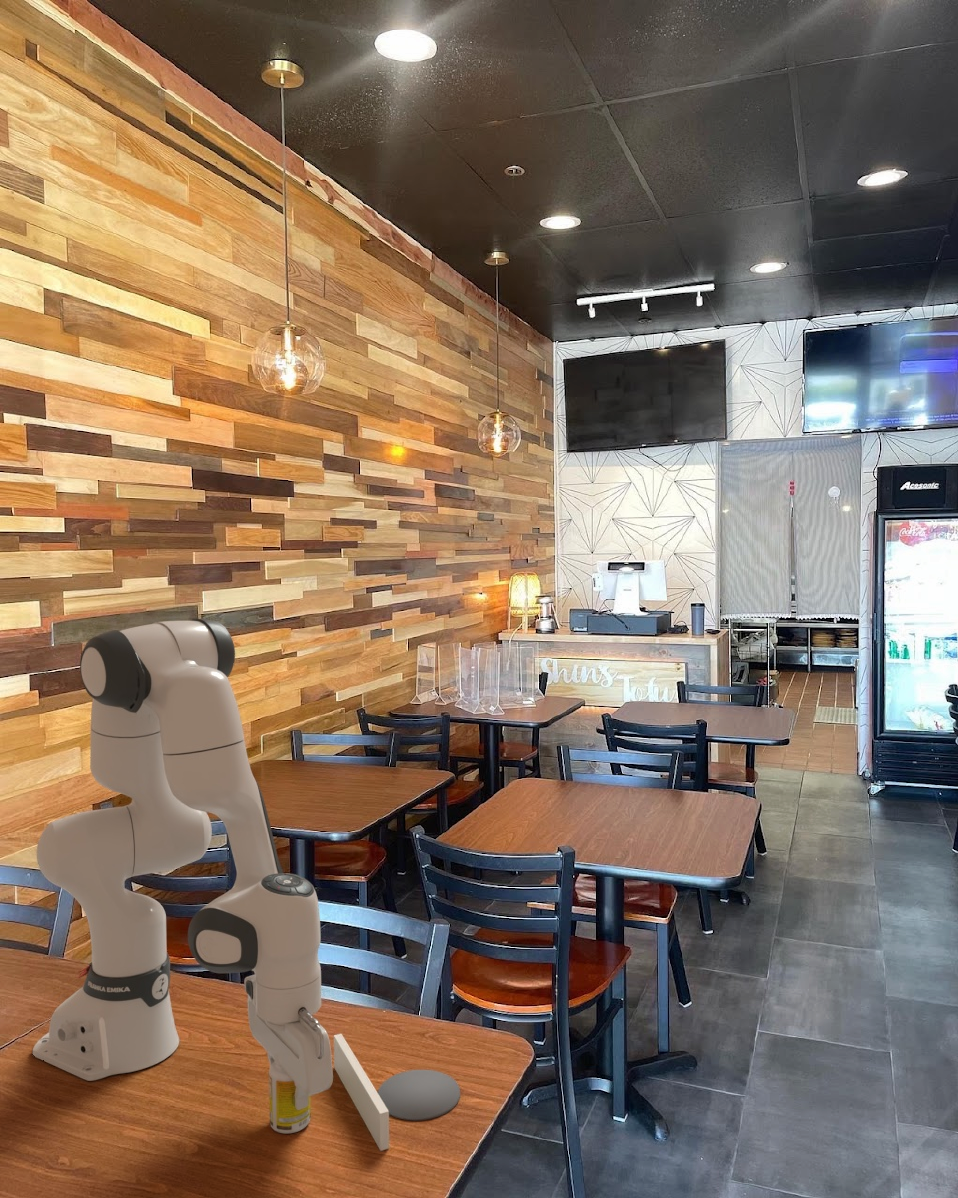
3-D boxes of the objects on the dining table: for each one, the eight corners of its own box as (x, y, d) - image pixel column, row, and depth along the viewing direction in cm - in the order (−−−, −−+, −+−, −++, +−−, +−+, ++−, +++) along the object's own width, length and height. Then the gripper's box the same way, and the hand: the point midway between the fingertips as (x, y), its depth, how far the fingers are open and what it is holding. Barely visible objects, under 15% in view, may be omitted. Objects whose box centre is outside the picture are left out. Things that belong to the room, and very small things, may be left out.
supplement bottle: (319, 1122, 126) (318, 1050, 125) (285, 1141, 122) (284, 1066, 121) (295, 1106, 130) (294, 1035, 129) (261, 1124, 126) (260, 1051, 125)
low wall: (389, 1148, 120) (388, 1111, 120) (380, 1151, 120) (380, 1113, 119) (341, 1065, 140) (341, 1033, 140) (334, 1067, 140) (333, 1035, 139)
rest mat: (362, 1110, 129) (362, 1107, 129) (398, 1066, 140) (398, 1063, 140) (441, 1128, 124) (441, 1125, 124) (472, 1081, 136) (472, 1078, 136)
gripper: (344, 1019, 118) (345, 1123, 119) (280, 963, 135) (281, 1055, 136) (299, 1034, 115) (300, 1141, 115) (239, 974, 131) (240, 1068, 132)
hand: (289, 1094), depth 126 cm, fingers closed on supplement bottle, 5 cm apart
